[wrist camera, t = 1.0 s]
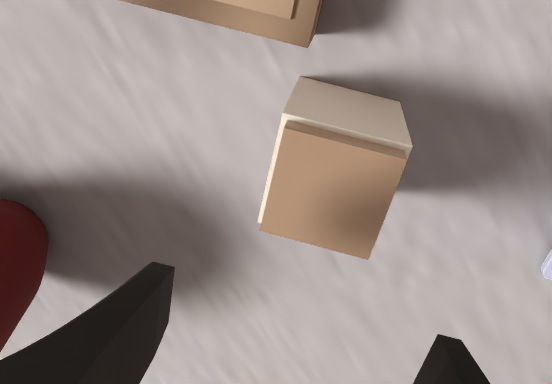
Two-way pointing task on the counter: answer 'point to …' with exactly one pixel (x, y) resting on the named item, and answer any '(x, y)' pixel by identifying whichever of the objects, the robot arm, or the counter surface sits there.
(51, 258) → the counter surface
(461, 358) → the robot arm
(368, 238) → the beige rectangular block
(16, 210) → the mug
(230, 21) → the tan square tray
